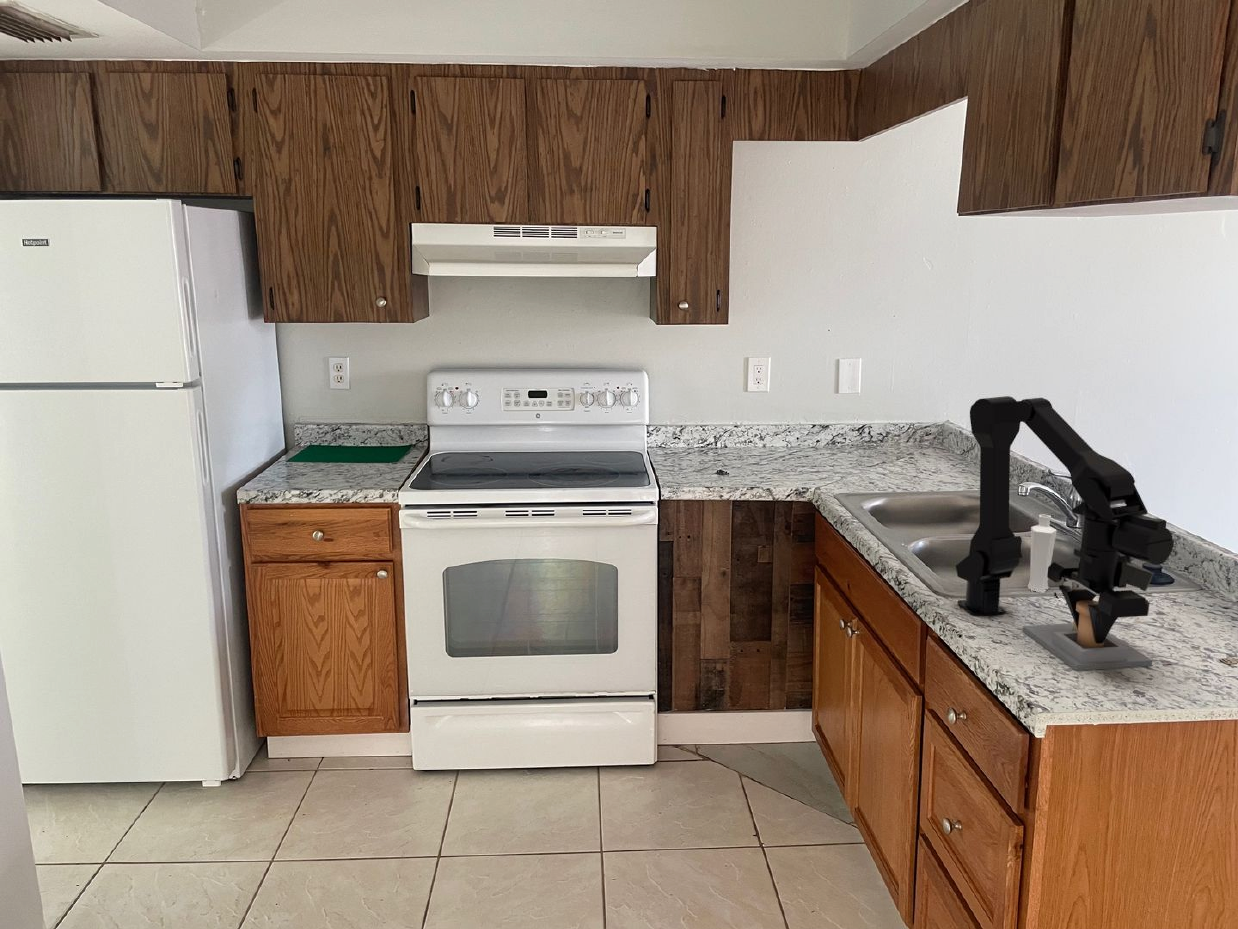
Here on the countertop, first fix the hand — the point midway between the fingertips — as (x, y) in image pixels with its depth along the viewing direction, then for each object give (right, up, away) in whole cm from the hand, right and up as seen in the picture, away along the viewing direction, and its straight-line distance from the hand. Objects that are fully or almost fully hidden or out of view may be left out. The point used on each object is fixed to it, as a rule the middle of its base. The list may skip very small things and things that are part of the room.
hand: (1090, 637), depth 156 cm
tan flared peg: (0, -1, 0) cm, 2 cm away
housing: (+1, -3, +4) cm, 5 cm away
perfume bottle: (+5, +4, +31) cm, 32 cm away
